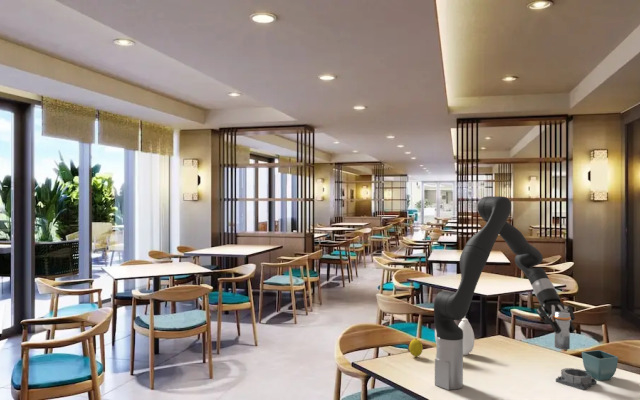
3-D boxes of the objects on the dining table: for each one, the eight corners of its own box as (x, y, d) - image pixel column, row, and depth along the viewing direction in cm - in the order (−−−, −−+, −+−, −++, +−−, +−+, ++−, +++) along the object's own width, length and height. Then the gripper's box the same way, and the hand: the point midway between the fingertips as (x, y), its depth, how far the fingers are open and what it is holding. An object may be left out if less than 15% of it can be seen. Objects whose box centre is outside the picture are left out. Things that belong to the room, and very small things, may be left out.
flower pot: (599, 383, 177) (599, 358, 177) (580, 375, 186) (580, 351, 186) (618, 381, 180) (619, 357, 180) (599, 373, 188) (599, 349, 188)
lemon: (413, 354, 209) (413, 335, 209) (424, 357, 206) (424, 338, 206) (406, 357, 205) (406, 338, 205) (418, 360, 201) (418, 341, 201)
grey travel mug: (566, 350, 175) (566, 314, 175) (550, 347, 180) (550, 312, 180) (573, 347, 179) (573, 312, 179) (558, 344, 183) (558, 309, 183)
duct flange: (584, 390, 170) (584, 379, 170) (555, 381, 178) (555, 371, 178) (596, 383, 177) (596, 373, 177) (568, 375, 185) (568, 366, 185)
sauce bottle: (477, 354, 209) (477, 313, 209) (467, 358, 204) (467, 315, 204) (461, 350, 215) (462, 309, 215) (451, 354, 210) (451, 312, 210)
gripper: (532, 287, 185) (552, 327, 174) (566, 286, 188) (588, 326, 176) (524, 298, 191) (543, 338, 179) (558, 297, 193) (578, 336, 181)
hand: (565, 332), depth 177 cm, fingers closed on grey travel mug, 5 cm apart
